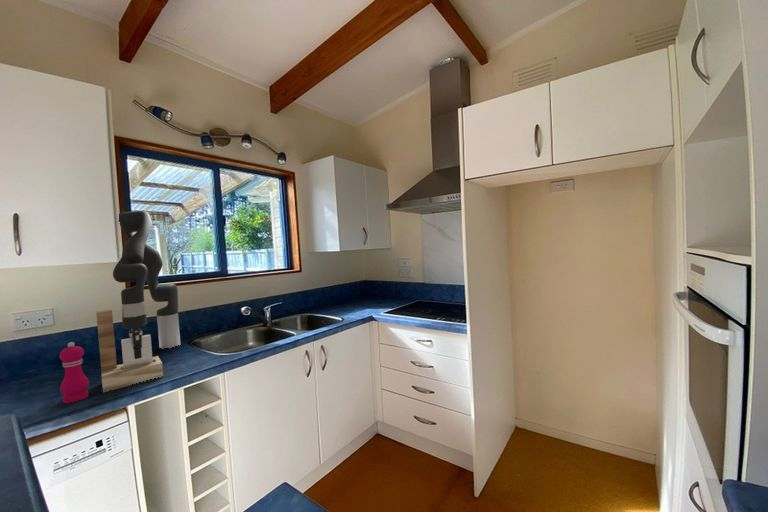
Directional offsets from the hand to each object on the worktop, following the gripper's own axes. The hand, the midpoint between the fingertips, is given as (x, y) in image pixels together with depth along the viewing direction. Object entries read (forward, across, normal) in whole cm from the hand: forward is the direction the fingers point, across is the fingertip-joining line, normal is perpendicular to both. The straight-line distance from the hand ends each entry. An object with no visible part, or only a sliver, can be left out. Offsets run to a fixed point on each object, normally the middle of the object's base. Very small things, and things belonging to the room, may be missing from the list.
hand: (137, 357), depth 125 cm
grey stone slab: (+4, 0, 0) cm, 4 cm away
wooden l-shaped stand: (+9, 0, -2) cm, 9 cm away
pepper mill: (+9, +5, -18) cm, 21 cm away
